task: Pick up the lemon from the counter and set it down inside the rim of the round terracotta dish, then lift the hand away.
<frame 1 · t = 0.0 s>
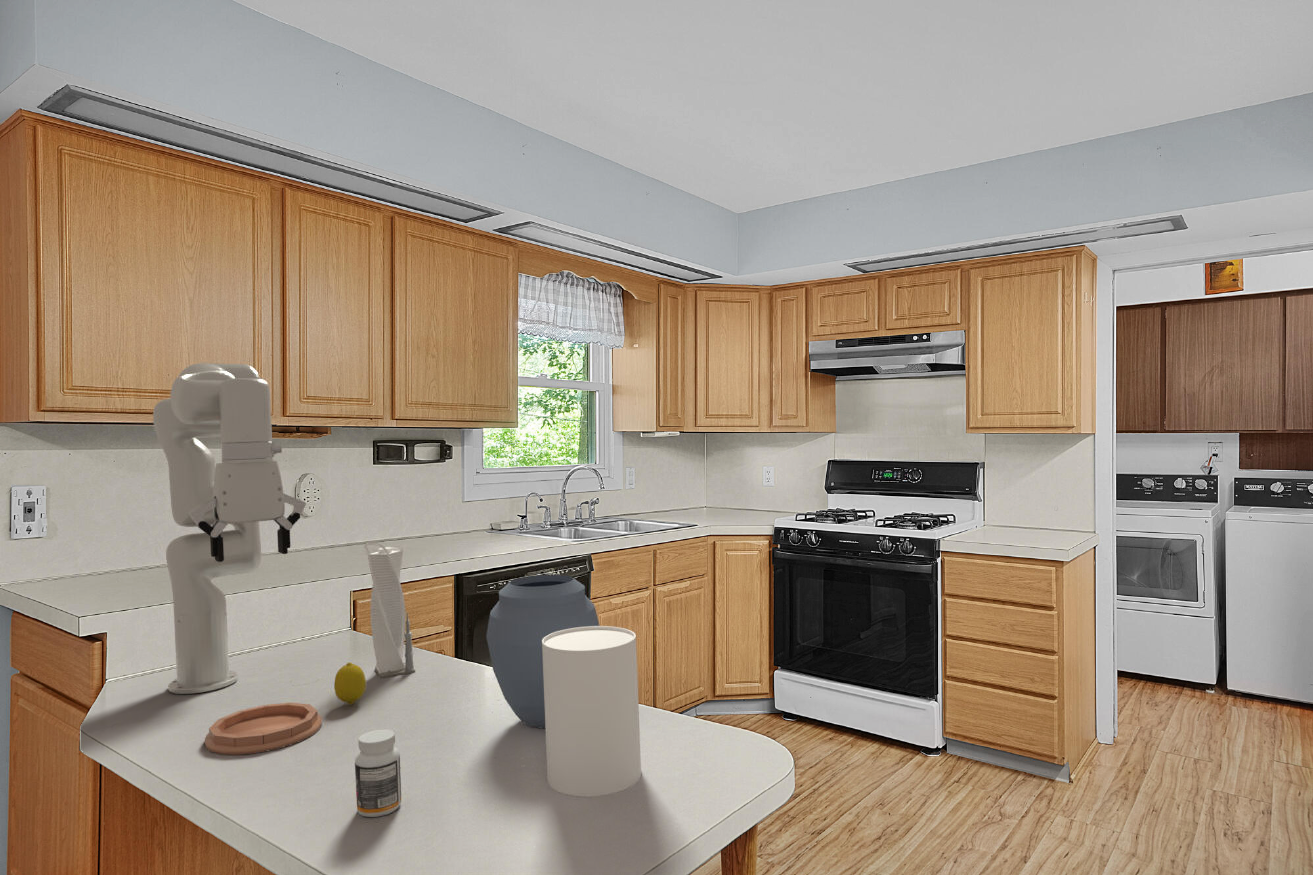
hand: (251, 556, 133), 31 cm above the table, tool pointing down, fingers open, 9 cm apart
pill bottle: (379, 810, 109), on the table
lemon: (351, 705, 152), on the table
canister: (594, 776, 117), on the table
dish: (265, 733, 138), on the table
skyscraper: (390, 671, 173), on the table
vase: (547, 721, 140), on the table
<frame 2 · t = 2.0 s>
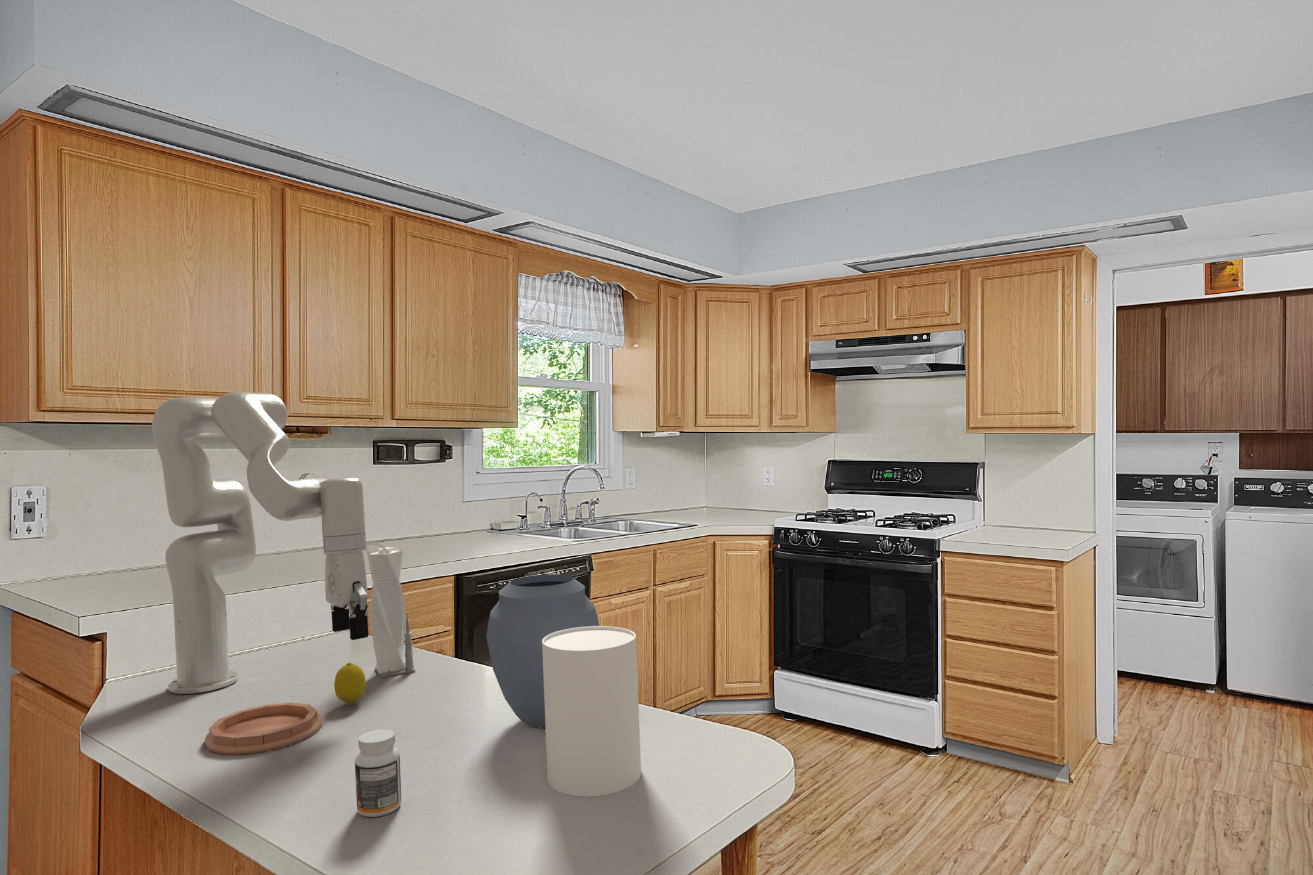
hand: (350, 634, 151), 13 cm above the table, tool pointing down, fingers open, 9 cm apart
nothing on the table moved.
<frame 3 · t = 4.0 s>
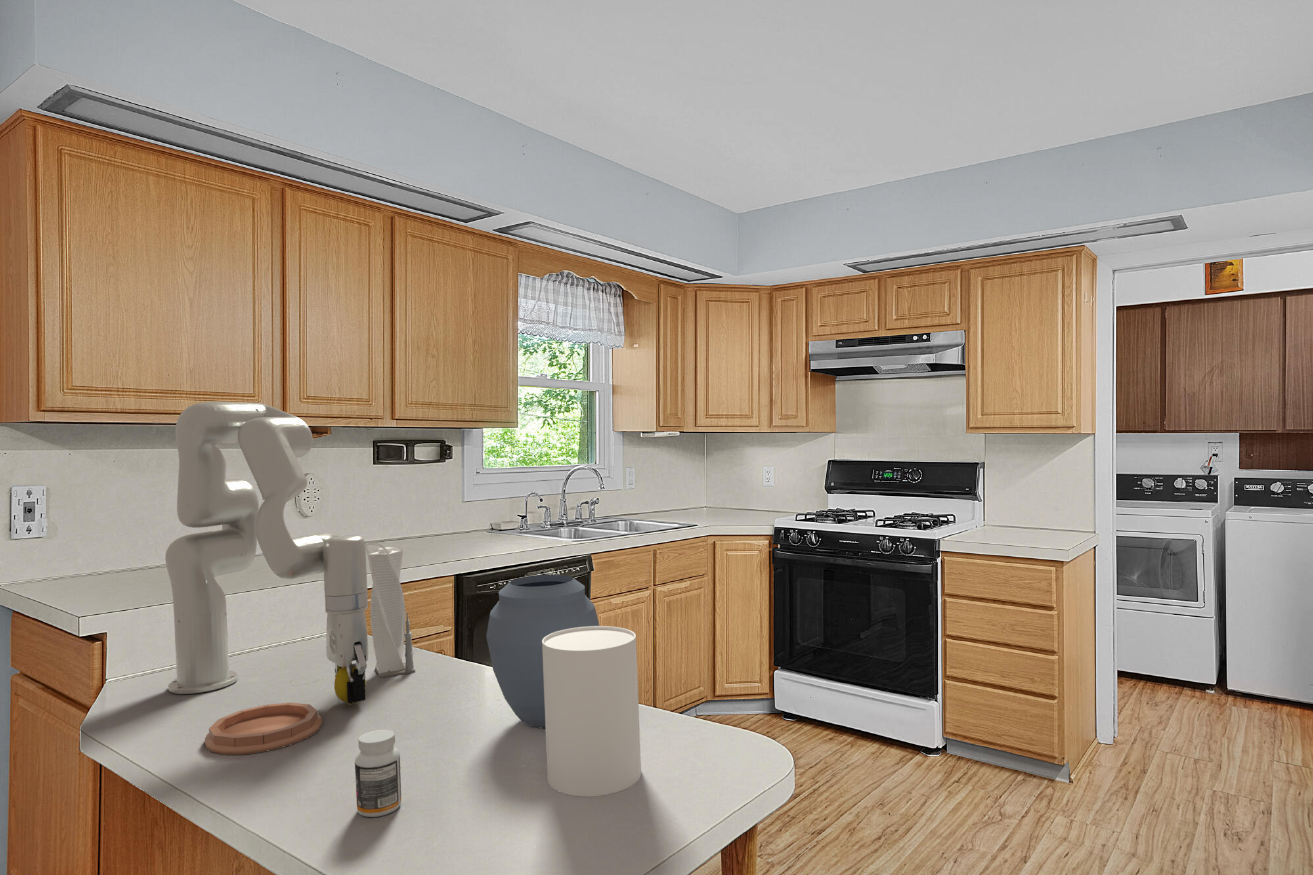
hand: (350, 696, 152), 2 cm above the table, tool pointing down, fingers closed on lemon, 5 cm apart
lemon: (351, 705, 152), on the table, touching gripper
everything else where it was.
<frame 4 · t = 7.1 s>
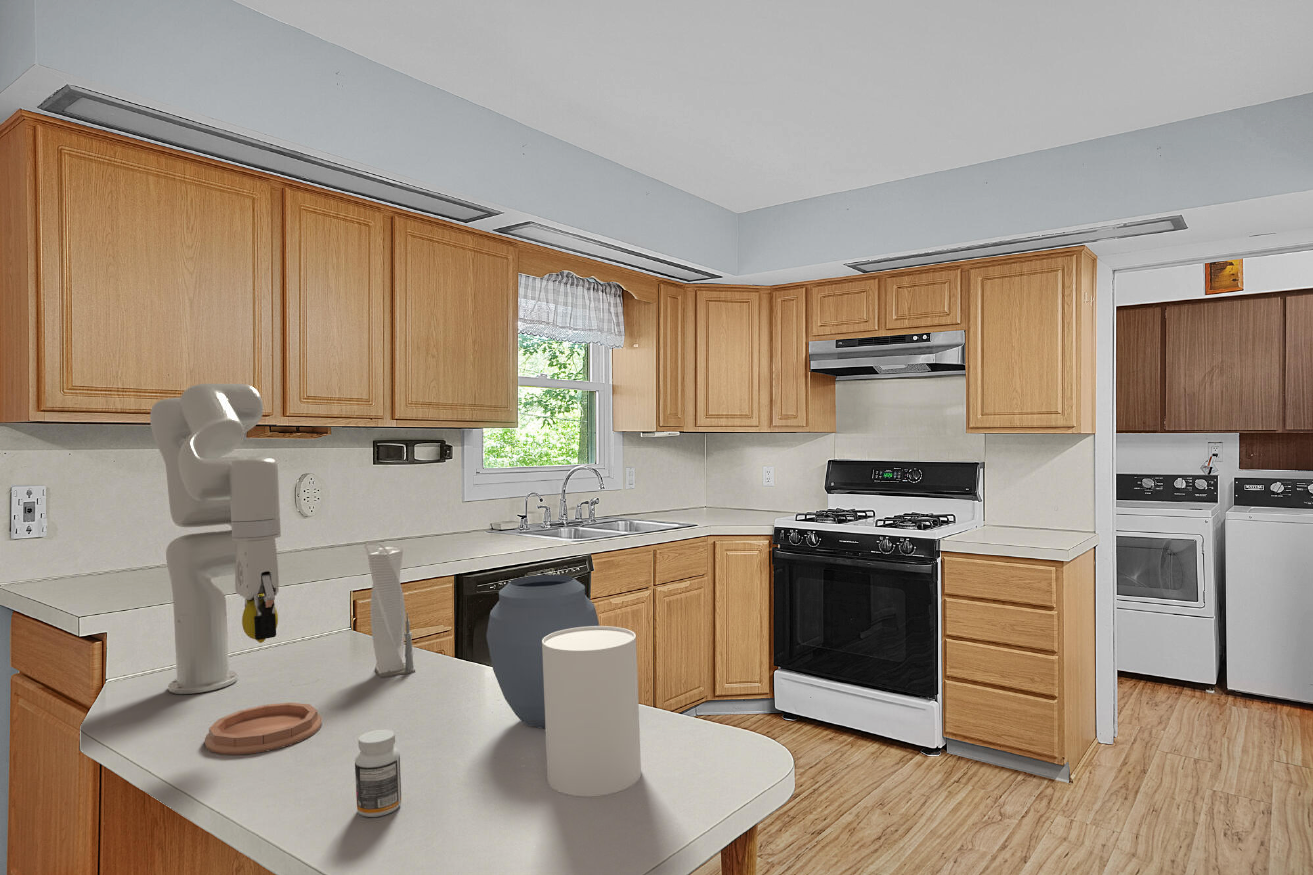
hand: (260, 633, 138), 17 cm above the table, tool pointing down, fingers closed on lemon, 5 cm apart
lemon: (261, 643, 138), point 15 cm above the table, touching gripper
everything else where it was.
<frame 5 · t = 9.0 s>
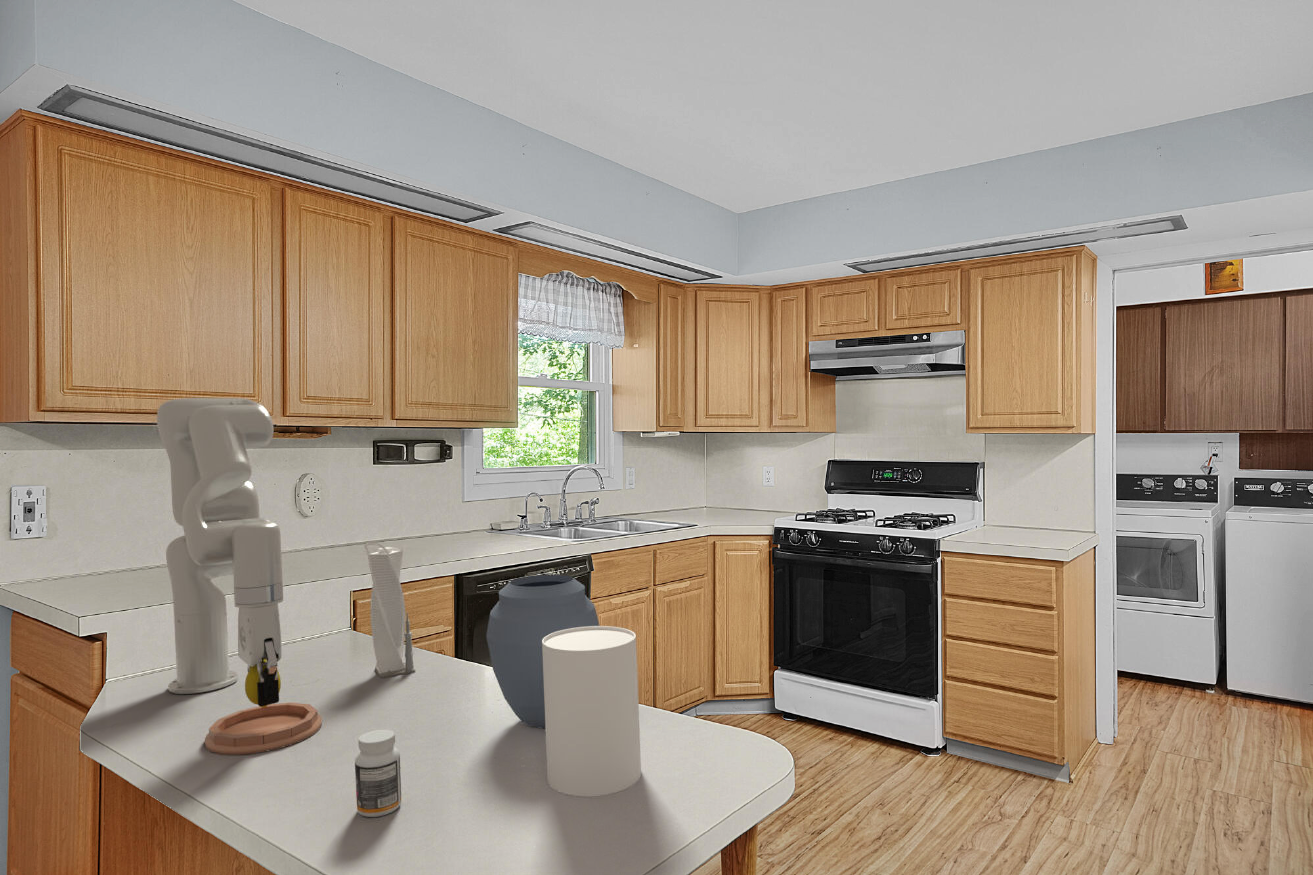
hand: (263, 698, 138), 6 cm above the table, tool pointing down, fingers closed on lemon, 5 cm apart
lemon: (264, 708, 138), point 4 cm above the table, touching gripper
everything else where it was.
when the fingers open (4 cm above the table, at t = 10.4 s): lemon drops 1 cm, resting on dish.
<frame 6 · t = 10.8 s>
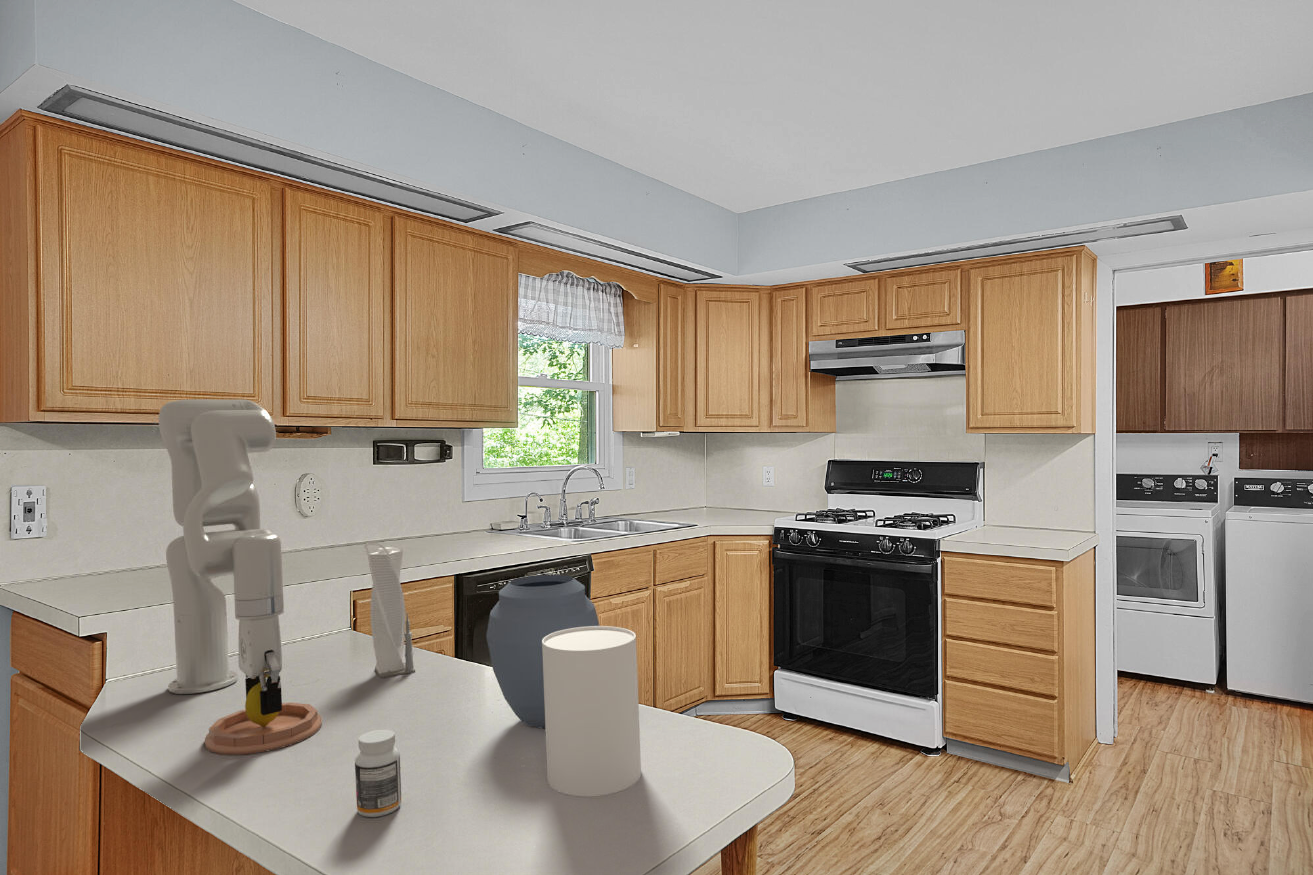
hand: (263, 705, 138), 5 cm above the table, tool pointing down, fingers open, 9 cm apart
lemon: (264, 728, 139), point 1 cm above the table, touching dish
everything else where it was.
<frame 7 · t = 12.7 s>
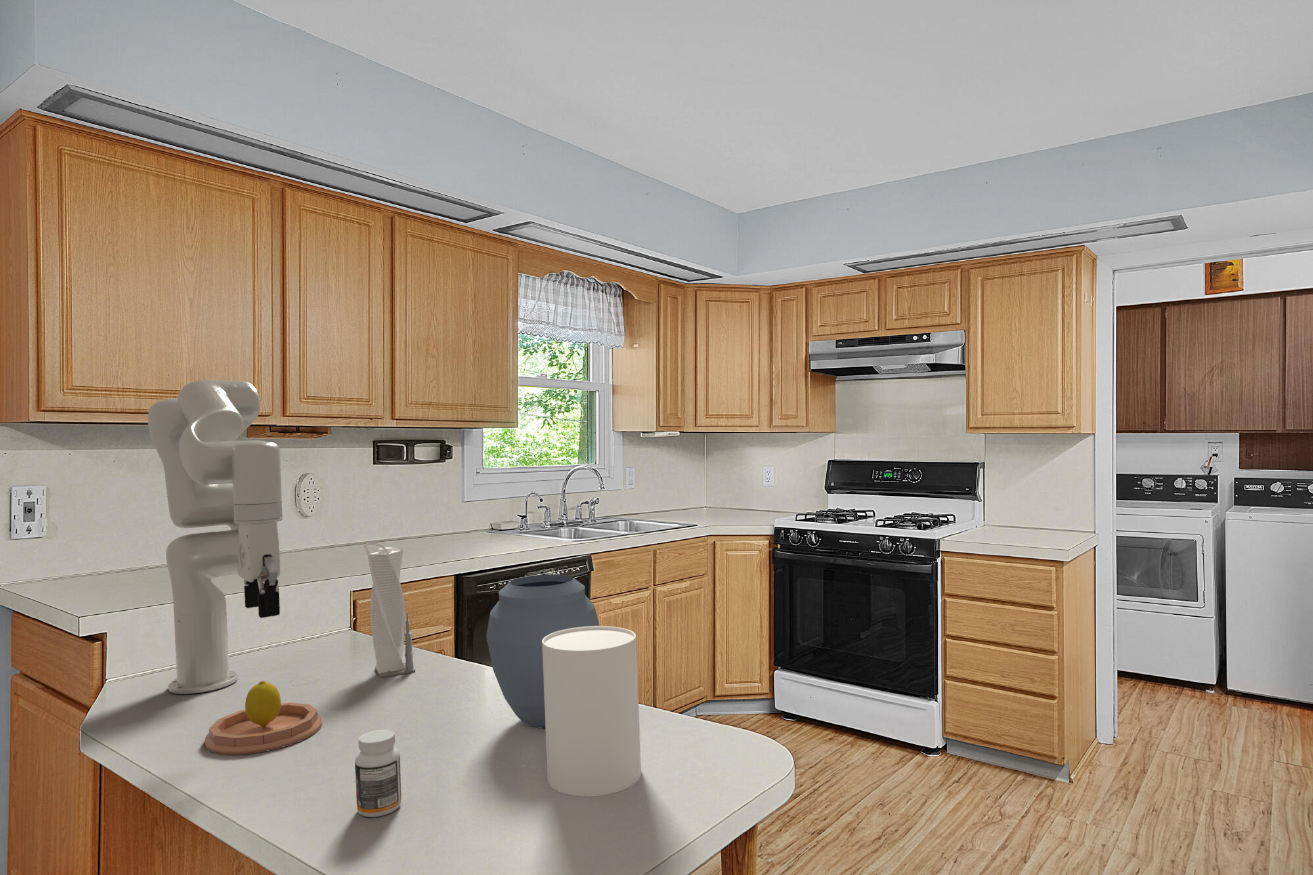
hand: (262, 611, 140), 21 cm above the table, tool pointing down, fingers open, 9 cm apart
nothing on the table moved.
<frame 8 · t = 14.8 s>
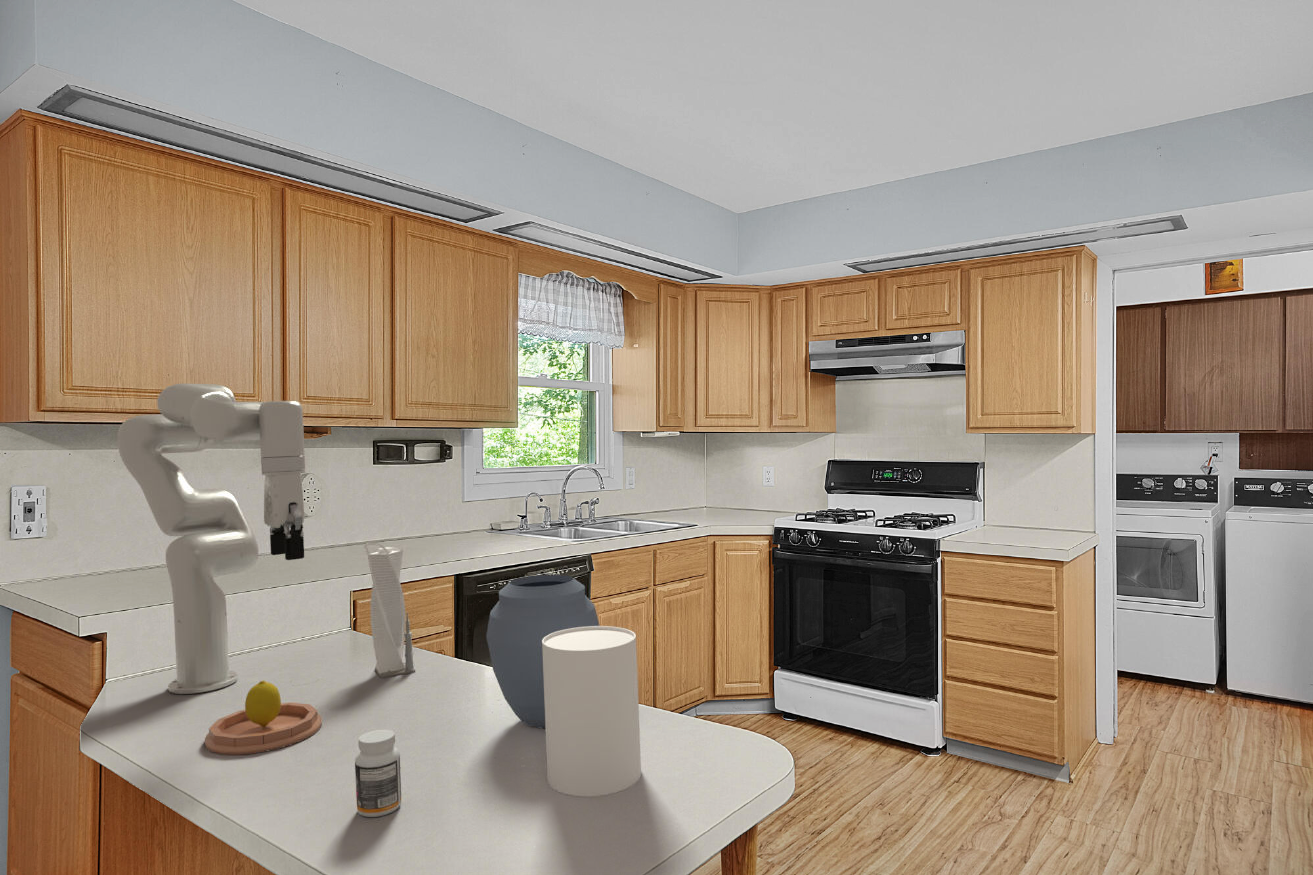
hand: (287, 556, 152), 28 cm above the table, tool pointing down, fingers open, 9 cm apart
nothing on the table moved.
at the end: lemon inside the target area on the dish (0.4 cm from its centre), point 0.8 cm above the dish's base; lemon touching dish; the gripper is holding nothing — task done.
